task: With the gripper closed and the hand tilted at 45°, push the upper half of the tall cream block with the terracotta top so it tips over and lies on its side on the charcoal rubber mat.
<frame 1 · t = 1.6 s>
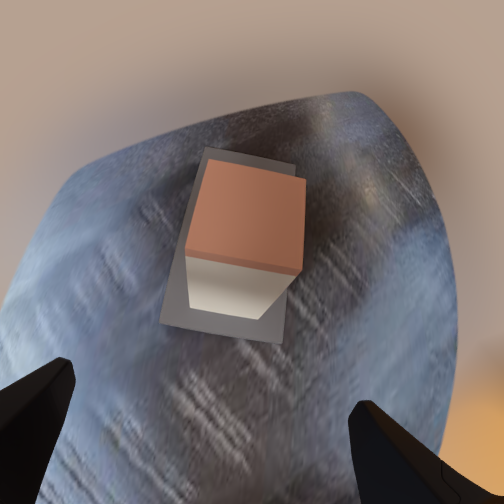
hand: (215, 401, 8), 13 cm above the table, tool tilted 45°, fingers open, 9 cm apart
cream block: (229, 281, 23), resting on charcoal mat
charcoal mat: (236, 232, 25), on the table
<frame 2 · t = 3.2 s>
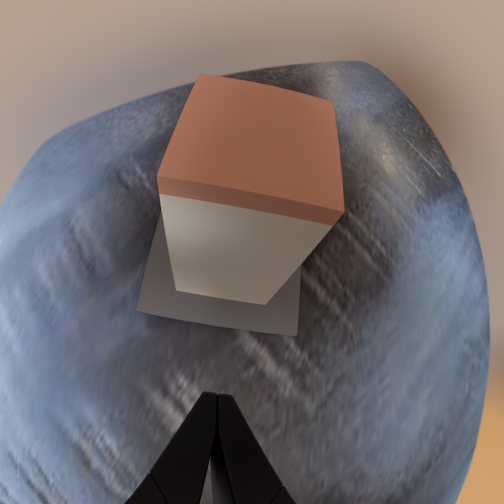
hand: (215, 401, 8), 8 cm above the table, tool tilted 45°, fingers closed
cream block: (227, 256, 18), resting on charcoal mat
charcoal mat: (236, 198, 20), on the table
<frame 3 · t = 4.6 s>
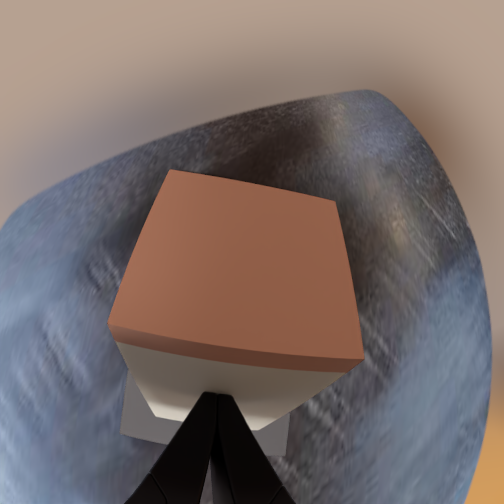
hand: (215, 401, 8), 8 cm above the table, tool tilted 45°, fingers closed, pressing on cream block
cream block: (211, 379, 14), point 1 cm above the table, tilted 17°, touching charcoal mat, gripper
charcoal mat: (221, 303, 17), on the table
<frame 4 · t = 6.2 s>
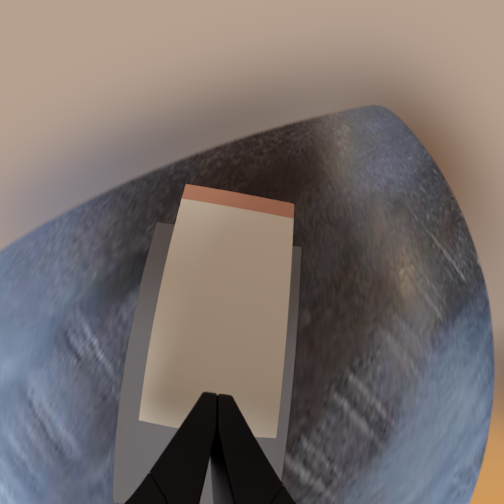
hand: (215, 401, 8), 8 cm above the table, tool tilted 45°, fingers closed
cream block: (205, 422, 11), point 3 cm above the table, tilted 90°, touching charcoal mat
charcoal mat: (208, 379, 15), on the table
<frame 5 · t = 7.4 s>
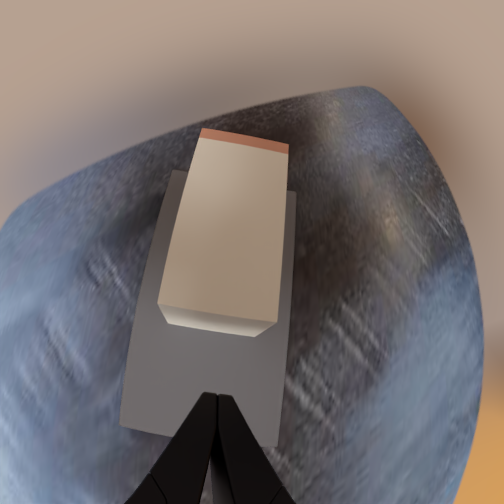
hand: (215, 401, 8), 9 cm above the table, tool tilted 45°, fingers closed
cream block: (213, 323, 14), point 3 cm above the table, tilted 90°, touching charcoal mat
charcoal mat: (215, 299, 18), on the table
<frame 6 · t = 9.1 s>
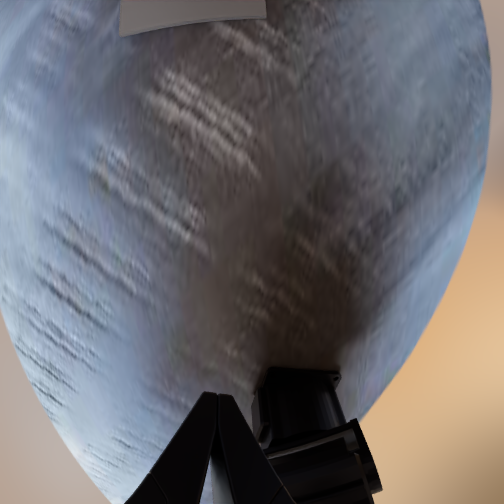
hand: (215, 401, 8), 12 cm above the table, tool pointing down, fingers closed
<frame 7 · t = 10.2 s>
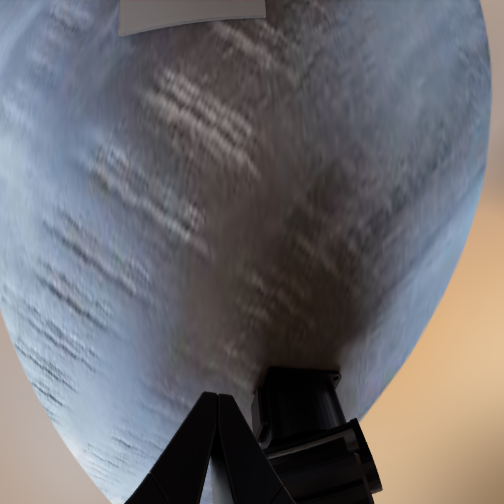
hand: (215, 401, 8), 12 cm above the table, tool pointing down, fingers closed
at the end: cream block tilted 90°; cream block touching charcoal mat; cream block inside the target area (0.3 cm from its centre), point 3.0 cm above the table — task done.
